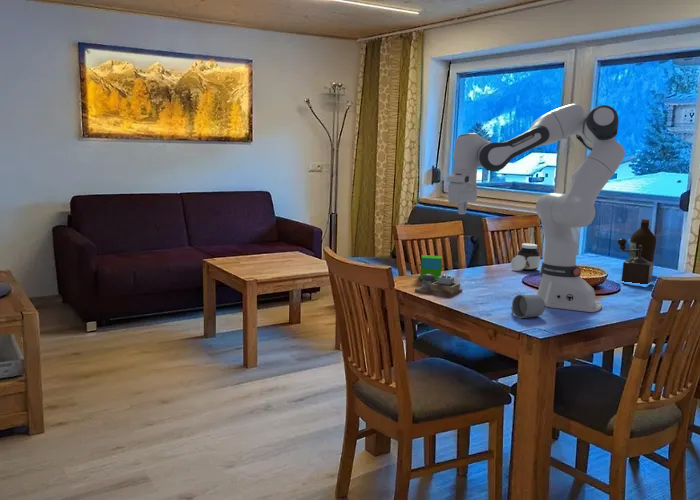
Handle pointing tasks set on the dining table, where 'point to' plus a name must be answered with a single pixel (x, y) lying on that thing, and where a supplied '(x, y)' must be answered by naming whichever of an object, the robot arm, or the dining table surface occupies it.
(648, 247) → the olive oil
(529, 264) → the spread jar
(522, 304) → the ceramic mug
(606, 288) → the dining table surface
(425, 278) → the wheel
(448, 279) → the engine block
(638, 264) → the manual coffee grinder
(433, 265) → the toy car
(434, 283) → the chassis
